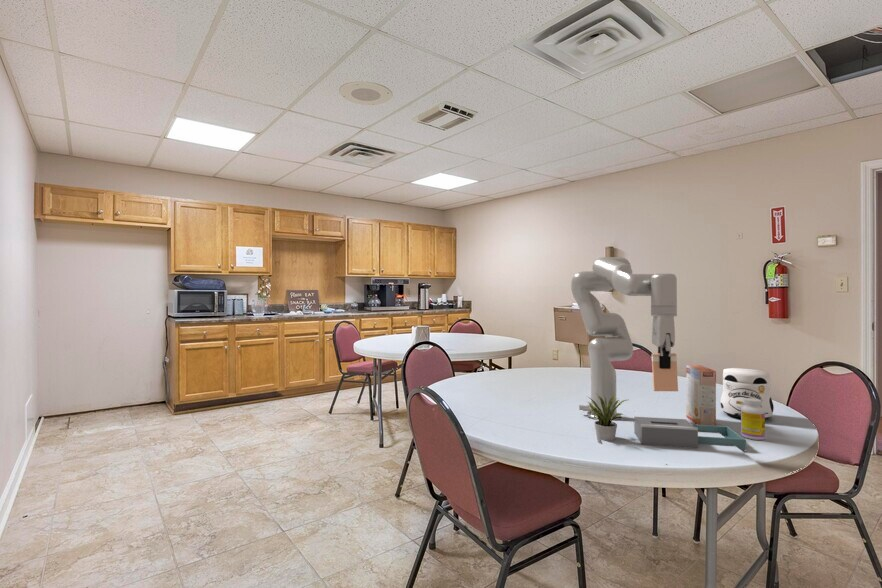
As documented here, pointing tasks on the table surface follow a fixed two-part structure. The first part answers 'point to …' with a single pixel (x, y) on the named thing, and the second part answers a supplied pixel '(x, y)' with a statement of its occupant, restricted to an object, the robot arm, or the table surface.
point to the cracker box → (701, 395)
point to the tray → (729, 439)
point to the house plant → (605, 419)
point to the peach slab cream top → (664, 374)
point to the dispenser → (666, 432)
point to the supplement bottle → (753, 419)
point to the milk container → (745, 390)
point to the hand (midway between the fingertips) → (664, 367)
